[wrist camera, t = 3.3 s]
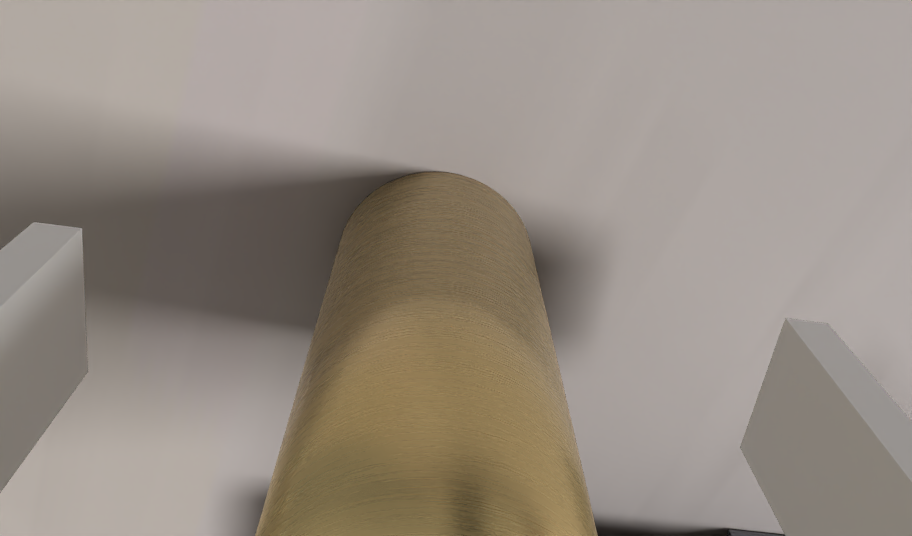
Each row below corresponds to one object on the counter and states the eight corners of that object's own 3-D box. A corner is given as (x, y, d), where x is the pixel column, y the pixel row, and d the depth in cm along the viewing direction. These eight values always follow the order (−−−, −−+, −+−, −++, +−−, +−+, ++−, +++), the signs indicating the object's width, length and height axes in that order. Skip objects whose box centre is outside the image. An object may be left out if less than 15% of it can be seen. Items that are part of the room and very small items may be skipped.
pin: (347, 158, 16) (16, 1111, 4) (548, 186, 17) (873, 1159, 4) (330, 336, 18) (60, 1413, 5) (513, 358, 18) (664, 1431, 6)
